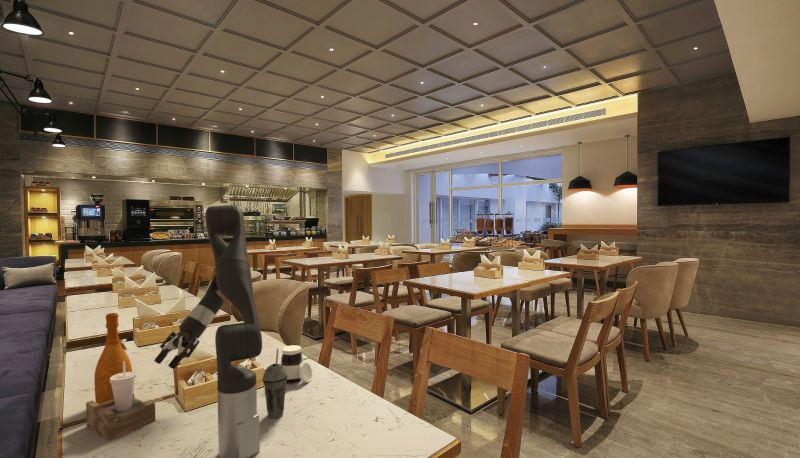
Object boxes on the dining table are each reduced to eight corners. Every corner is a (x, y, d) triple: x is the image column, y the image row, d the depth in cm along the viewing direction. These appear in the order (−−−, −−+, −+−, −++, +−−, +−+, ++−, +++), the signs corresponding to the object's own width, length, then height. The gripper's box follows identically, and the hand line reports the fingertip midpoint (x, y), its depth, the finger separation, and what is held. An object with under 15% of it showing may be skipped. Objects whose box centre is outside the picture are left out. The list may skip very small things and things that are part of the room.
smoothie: (123, 414, 111) (122, 366, 111) (104, 412, 112) (103, 364, 112) (142, 403, 117) (140, 358, 117) (124, 402, 119) (122, 356, 118)
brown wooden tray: (155, 420, 116) (154, 397, 116) (108, 440, 106) (108, 415, 105) (132, 408, 123) (132, 387, 123) (86, 426, 113) (86, 402, 113)
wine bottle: (128, 408, 123) (125, 315, 122) (90, 414, 120) (87, 318, 119) (136, 395, 132) (134, 308, 132) (101, 401, 129) (98, 311, 128)
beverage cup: (257, 417, 117) (256, 351, 117) (275, 406, 124) (274, 344, 123) (275, 423, 114) (274, 355, 114) (293, 412, 121) (292, 348, 120)
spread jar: (283, 374, 150) (282, 344, 150) (313, 372, 152) (312, 342, 152) (279, 387, 138) (278, 355, 138) (311, 385, 140) (311, 353, 140)
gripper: (178, 312, 135) (143, 355, 125) (202, 318, 128) (166, 363, 118) (193, 324, 140) (160, 366, 130) (217, 330, 132) (184, 375, 123)
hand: (163, 365), depth 124 cm, fingers open, 8 cm apart
